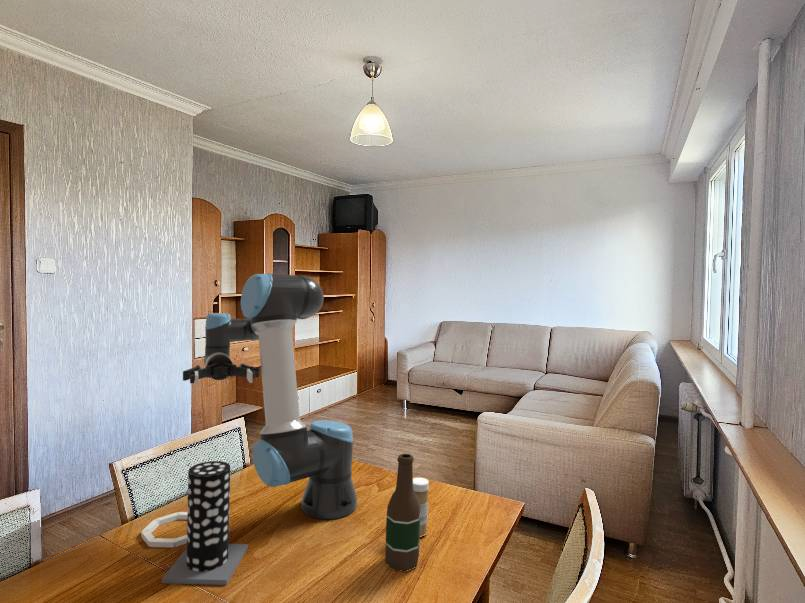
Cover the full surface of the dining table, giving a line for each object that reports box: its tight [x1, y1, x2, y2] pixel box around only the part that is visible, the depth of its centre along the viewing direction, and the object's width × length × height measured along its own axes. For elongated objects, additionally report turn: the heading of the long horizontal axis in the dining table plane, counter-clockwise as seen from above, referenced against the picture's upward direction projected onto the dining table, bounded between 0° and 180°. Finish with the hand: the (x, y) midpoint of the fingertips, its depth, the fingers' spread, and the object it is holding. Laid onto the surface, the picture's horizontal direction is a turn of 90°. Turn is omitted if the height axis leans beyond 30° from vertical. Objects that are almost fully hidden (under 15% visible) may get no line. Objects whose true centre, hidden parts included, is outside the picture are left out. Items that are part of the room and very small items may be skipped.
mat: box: [161, 543, 249, 586], centre depth 99 cm, size 13×13×1 cm
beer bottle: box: [384, 453, 421, 572], centre depth 102 cm, size 8×8×24 cm
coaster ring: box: [140, 511, 188, 549], centre depth 112 cm, size 14×14×1 cm
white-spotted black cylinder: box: [186, 460, 231, 572], centre depth 99 cm, size 8×8×20 cm
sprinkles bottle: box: [413, 477, 430, 536], centre depth 114 cm, size 5×5×14 cm
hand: (224, 379), depth 123 cm, fingers open, 13 cm apart
